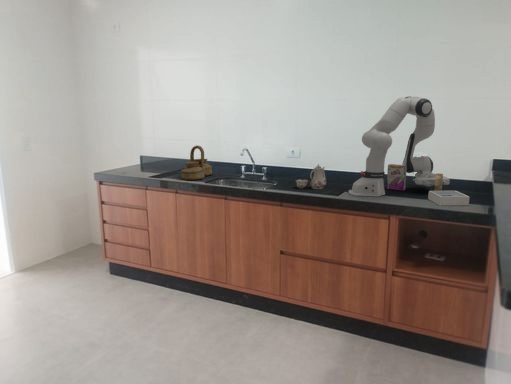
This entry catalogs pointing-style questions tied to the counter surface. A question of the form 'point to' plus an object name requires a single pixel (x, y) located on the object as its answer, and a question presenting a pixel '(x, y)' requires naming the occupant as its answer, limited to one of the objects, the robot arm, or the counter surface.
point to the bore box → (448, 198)
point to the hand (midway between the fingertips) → (437, 183)
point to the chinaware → (314, 179)
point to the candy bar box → (396, 177)
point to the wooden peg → (438, 182)
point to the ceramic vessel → (196, 166)
